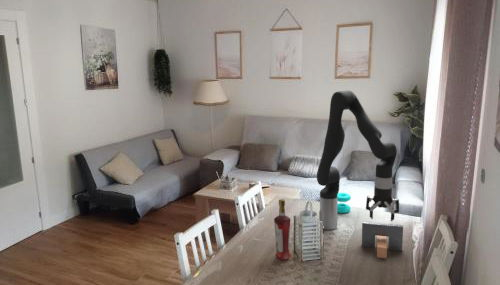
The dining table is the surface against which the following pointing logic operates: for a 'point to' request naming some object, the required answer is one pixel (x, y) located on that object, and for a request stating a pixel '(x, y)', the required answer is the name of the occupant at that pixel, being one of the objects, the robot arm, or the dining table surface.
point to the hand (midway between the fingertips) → (381, 219)
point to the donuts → (341, 206)
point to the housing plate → (382, 234)
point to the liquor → (282, 233)
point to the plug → (381, 247)
